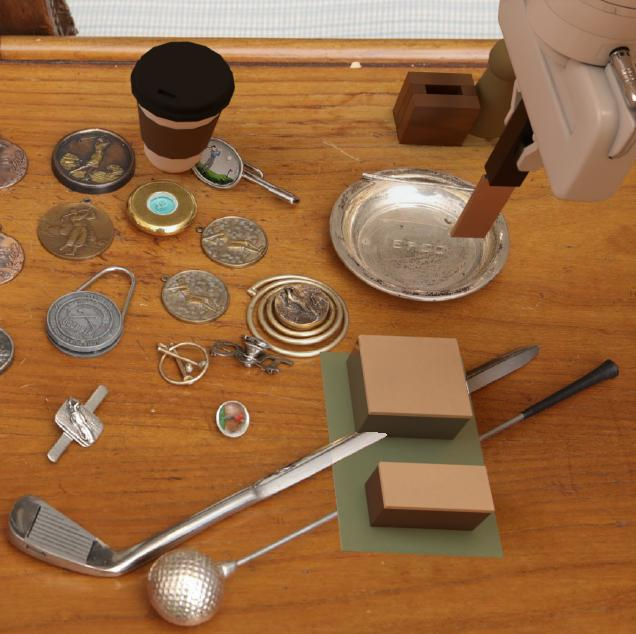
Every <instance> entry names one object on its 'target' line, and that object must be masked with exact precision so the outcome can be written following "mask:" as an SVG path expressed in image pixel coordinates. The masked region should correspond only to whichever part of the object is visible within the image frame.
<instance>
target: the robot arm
mask: <svg viewBox="0 0 636 634" xmlns="http://www.w3.org/2000/svg"><path fill="white" fill-rule="evenodd" d="M497 12H498V13H497V22H498V25H499V28H500V31H501V34H502V39H503V38H504V41H505V44H506V47H507V50H508V54H509V57H510V60H511V63H512V66H513V69H514V73H515V76H516V80H515V82H514V89H513V95H512V101H511V109H510V111H509V113H508V114H507V116H506V118H505V120H504V123H505V126H507V124H508V122H509V120H510V119H511V117H512V115H513V113H514V111H515V109H516V108H517V106H518V104H519V102H520V100H521V99H522V98H523V101H524V104H525V107H526V111H527V114H528V117H529V120H530V123H531V126H532V129H533V133H534V134H533V137H532V138H533V141H535V142H534V143H532V142H521V144H520V146H519V147H518V150H517V151H516V153H515V159H516V163H517V167H518V170H520V171H530V172H537V171H540V170H541V169H542V168H543V167H544V170H545V173H546V177H547V179H548V183H549V186H550V190H551V192H552V196H553V197H554V198H555V199H556V200H559V201H565V202H574V203H596V202H597V203H598V202H605V201H607V200H610V199H611V198H612V197H614V195H615V194H616V193H617V191H618V190H619V189H620V187H621V186H622V184H623V182H624V181H625V179H626V177H627V175H628V174H629V172H630V170H631V169H632V167H633V166H634V163H635V162H636V65H635V64H636V0H499V2H498V9H497Z"/></svg>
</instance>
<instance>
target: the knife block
mask: <svg viewBox="0 0 636 634" xmlns="http://www.w3.org/2000/svg"><path fill="white" fill-rule="evenodd" d="M475 85H476V83H475V81H474V77H473V74H472V73H466V72H465V73H462V72H436V71H435V72H434V71H411V70H410V71H407V73H406V76H405V78H404V81H403V83H402V86H401V88H400V90H399V93H398V95H397V97H396V100H395V102H394V106H393V109H392V113H393V114H392V115H393V118H394V123H395V128H396V134H397V139H398V144H400V145H423V146H424V145H425V146H451V147H462V146H463V144H464V142H465V140H466V138H467V137H468V134H469V133H468V132H469V130H470V129H471V127H472V125H473V123H474V121H475V119H476V117H477V115H478V113H479V111H480V109H481V107H480V104H479V100H478V96H477V92H476V88H475Z"/></svg>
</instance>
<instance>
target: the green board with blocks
mask: <svg viewBox="0 0 636 634" xmlns="http://www.w3.org/2000/svg"><path fill="white" fill-rule="evenodd" d="M319 359H320V368H321V378H322V387H323V388H322V389H323V396H324V406H325V414H326V423H327V424H326V425H327V431H328V441H329V444H330V443H333V442H334V441H336V440H338V439H340V438H343V437H345V436H347V435H350V434H351V433H354V432H357V433H362V432H378V433H386V434H387V436H386V437H385V438H383V439H381V440H380V441H378V442H376V443H374V444H371V445H369V446H367V447H366V448H364V449H362V450H360V451H358V452H356V453H354V454H352V455H350V456H348V457H346V458H344V459H343V460H341V461H339V462H337V463H336V464H333V465H332V464H331V467H332V468H331V469H332V476H333V477H332V479H333V487H334V496H335V505H336V511H337V512H336V513H337V514H336V515H337V523H338V531H339V540H340V548H341V552H349V553H350V552H351V553H352V552H353V553H375V554H395V555H396V554H397V555H398V554H399V555H423V556H447V557H464V558H465V557H467V558H468V557H469V558H493V559H504V558H505V555H504V551H503V546H502V541H501V536H500V532H499V531H500V530H499V527H498V521H497V516H496V512H495V511H494V512H493V513H491V514H490V515H489V516H488V517H487V518H486V519H485V520H484V521H483V522H482V523H481V524H480V525H478V526H477V527H476V528H475V529H474V530H473V531H467V530H443V529H419V528H395V527H371V526H370V522H369V514H368V506H367V499H366V491H365V483H366V481H367V480H368V479H369V477H370V476H371V474H372V473H373V471H374V470H375V469H376V467H377V466H378V464H379V462H399V463H424V464H448V465H473V466H486V464H485V458H484V454H483V450H482V449H483V448H482V444H481V440H480V435H479V430H478V426H477V421H476V415H475V411H474V406H473V401H472V396H471V392H470V393H469V394H468V390H467V386H466V381H465V377H466V376H467V372H466V367H465V362H464V358H463V356H461V352H460V347H459V343H458V339H457V338H455V337H431V336H429V337H428V336H408V335H407V336H405V335H384V334H383V335H378V334H359V335H358V337H357V339H356V341H355V343H354V345H353V347H352V349H351V350H350V352H343V351H342V352H339V351H319Z"/></svg>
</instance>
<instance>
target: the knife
mask: <svg viewBox="0 0 636 634" xmlns="http://www.w3.org/2000/svg"><path fill="white" fill-rule="evenodd" d="M533 134H534V133H533V129H532V126H531V123H530V120H529V117H528V114H527V111H526V107H525V104H524V101H523V98H522V99H521V100H520V102H519V104H518V106H517V108H516V109H515V111H514V113H513V115H512V117H511V119H510V120H509V122H508V124H507V126H506V128H505V129H504V131H503V133H502V135H501V136H499V137H498V140H497V142H496V144H495V146H494V148H493V149H492V151H491V153H490V155H489V156H488V159H487V160H486V162H485V164H484V165H483V166H484V170H485V173H483V174H482V175H481V178H480V179H479V181H478V182H477V184H476V186H475V188H474V190H473V192H472V193H471V194H470V197H469V198H468V200H467V202H466V204H465V205H464V207H463V209H462V211H461V213H460V215H459V216H458V217H457V220H456V222H455V224H454V226H453V227H452V229H451V230H450V234H449V235H450V238H455V239H456V238H457V239H458V238H459V239H460V238H461V239H463V238H464V239H486V238H487V237H486V236H487V235H488V233H489V232H490V230H491V228H492V227H493V226H494V224H495V222H496V220H497V219H498V217H499V215H500V214H501V212H502V210H503V209H504V207H505V206H506V204H507V202H508V201H509V199H510V197H511V196H512V194H513V192H514V191H515V189H516V188H520V187H521V186H522V185H523V183H524V182H525V180H526V178H527V176H528V175H529V174H530V172H531V171H520V170H518V167H517V163H516V159H515V153H516V151H517V150H518V147H519V146H520V144H521V142H532V143H534V142H535V141H533V138H532V137H533Z"/></svg>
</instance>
